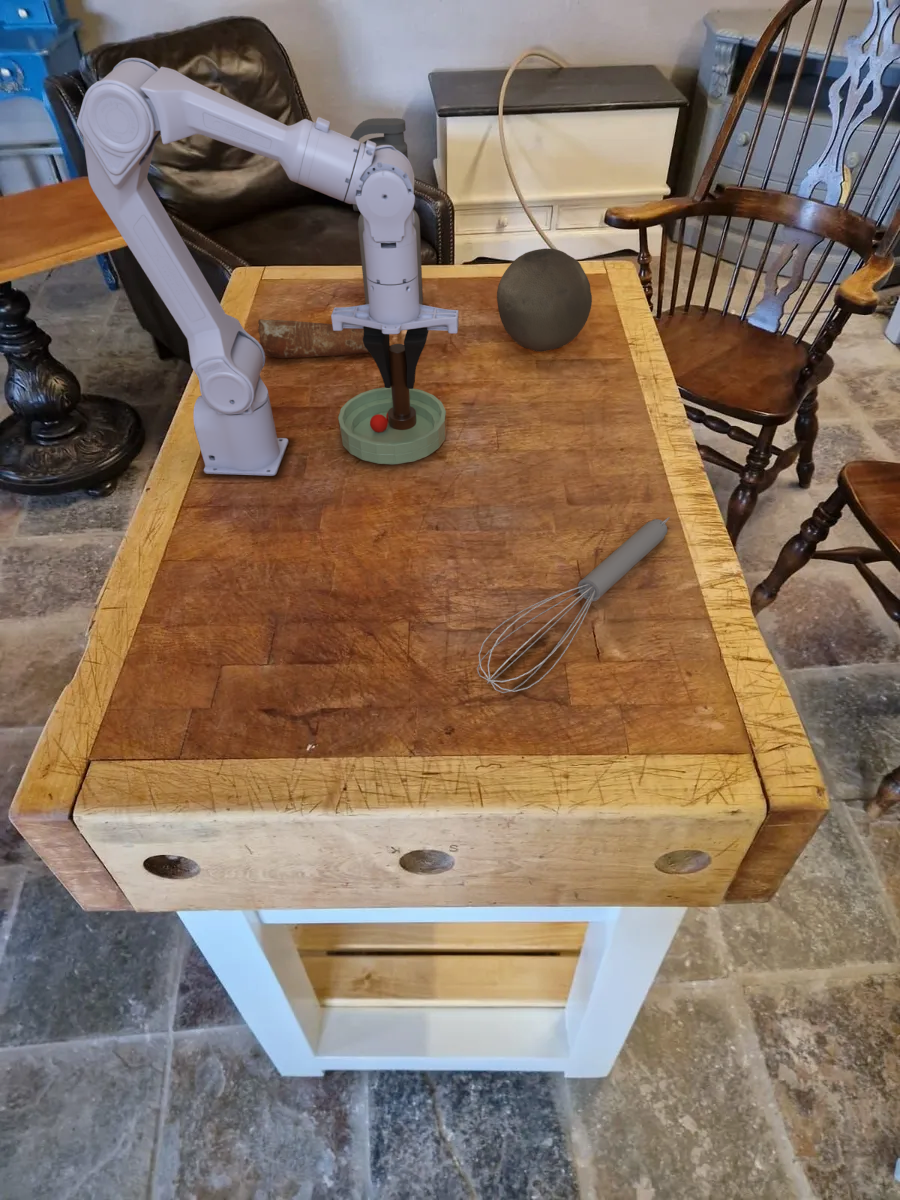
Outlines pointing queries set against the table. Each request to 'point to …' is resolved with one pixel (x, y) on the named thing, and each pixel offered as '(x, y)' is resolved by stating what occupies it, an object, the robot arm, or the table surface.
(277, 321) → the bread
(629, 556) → the kitchen whisk
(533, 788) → the table surface
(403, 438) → the bowl
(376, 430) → the tomato
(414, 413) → the stirrer
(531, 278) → the dark grey ball
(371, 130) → the water bottle
